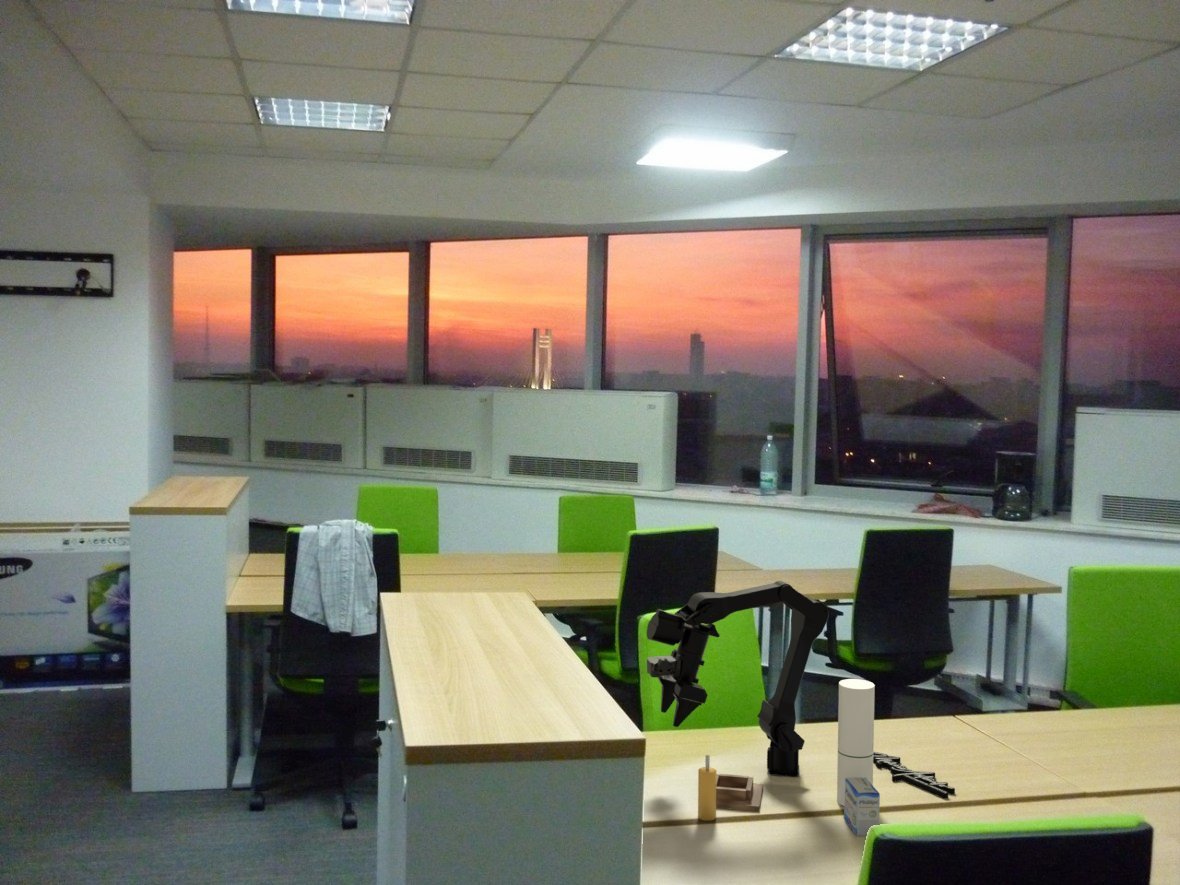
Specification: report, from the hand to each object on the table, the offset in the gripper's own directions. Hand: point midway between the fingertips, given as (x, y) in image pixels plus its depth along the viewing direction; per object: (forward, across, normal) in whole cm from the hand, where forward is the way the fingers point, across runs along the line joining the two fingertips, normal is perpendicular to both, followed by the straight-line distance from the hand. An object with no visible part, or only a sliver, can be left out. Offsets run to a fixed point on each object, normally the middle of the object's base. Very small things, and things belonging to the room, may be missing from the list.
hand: (669, 719), depth 225 cm
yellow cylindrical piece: (+12, +19, +6) cm, 24 cm away
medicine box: (+4, +30, +33) cm, 45 cm away
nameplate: (-2, +7, +54) cm, 55 cm away
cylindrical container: (+3, +19, +37) cm, 42 cm away
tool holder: (+10, +11, +14) cm, 21 cm away
